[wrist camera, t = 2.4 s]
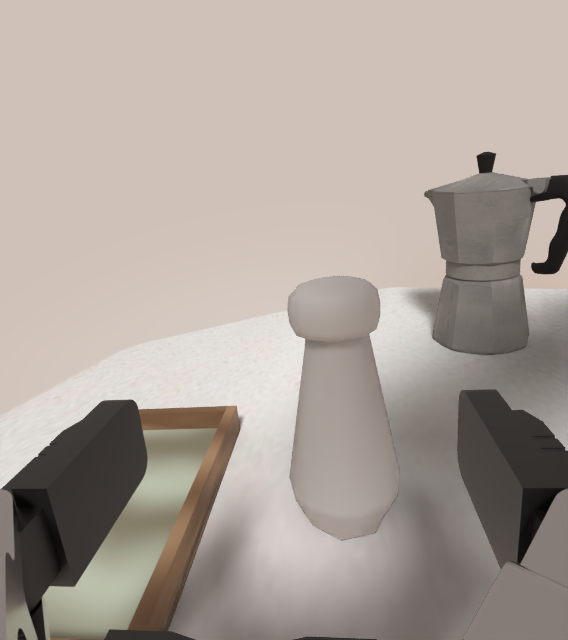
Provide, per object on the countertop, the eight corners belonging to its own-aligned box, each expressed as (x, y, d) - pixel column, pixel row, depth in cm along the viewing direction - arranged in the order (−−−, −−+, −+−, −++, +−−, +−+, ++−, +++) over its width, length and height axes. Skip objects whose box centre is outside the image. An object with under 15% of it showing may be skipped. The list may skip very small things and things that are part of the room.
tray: (98, 433, 36) (92, 411, 35) (240, 429, 34) (236, 405, 34) (-126, 685, 18) (-145, 649, 18) (142, 698, 17) (132, 660, 16)
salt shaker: (292, 555, 22) (262, 304, 18) (294, 480, 28) (272, 273, 24) (412, 550, 22) (408, 291, 18) (390, 475, 27) (384, 263, 23)
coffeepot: (398, 336, 49) (394, 161, 44) (451, 314, 54) (454, 155, 49) (545, 378, 37) (565, 143, 32) (597, 345, 42) (621, 137, 37)
